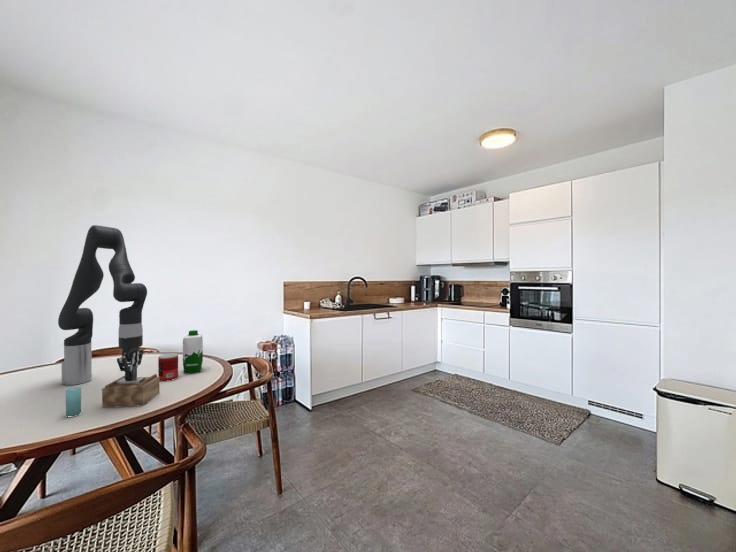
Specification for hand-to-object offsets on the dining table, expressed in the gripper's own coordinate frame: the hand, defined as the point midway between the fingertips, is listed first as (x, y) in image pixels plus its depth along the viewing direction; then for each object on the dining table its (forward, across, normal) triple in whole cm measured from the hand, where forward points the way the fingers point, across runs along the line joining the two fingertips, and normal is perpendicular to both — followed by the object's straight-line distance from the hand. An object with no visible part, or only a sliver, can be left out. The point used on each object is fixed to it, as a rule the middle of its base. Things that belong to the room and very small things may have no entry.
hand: (131, 379), depth 124 cm
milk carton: (+9, -36, +9) cm, 38 cm away
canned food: (+9, -26, +2) cm, 27 cm away
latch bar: (+1, 0, 0) cm, 1 cm away
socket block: (+9, -1, 0) cm, 9 cm away
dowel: (+9, +10, -13) cm, 19 cm away
